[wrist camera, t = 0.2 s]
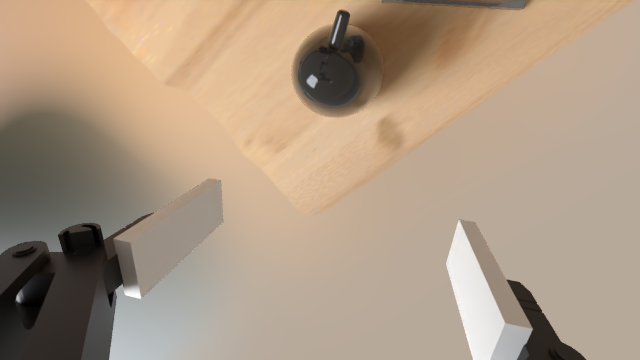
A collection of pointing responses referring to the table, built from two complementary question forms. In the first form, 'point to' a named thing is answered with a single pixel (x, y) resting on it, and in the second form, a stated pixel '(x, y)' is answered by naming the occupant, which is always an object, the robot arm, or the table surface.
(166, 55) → the table surface
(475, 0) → the tray unit
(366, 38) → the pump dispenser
